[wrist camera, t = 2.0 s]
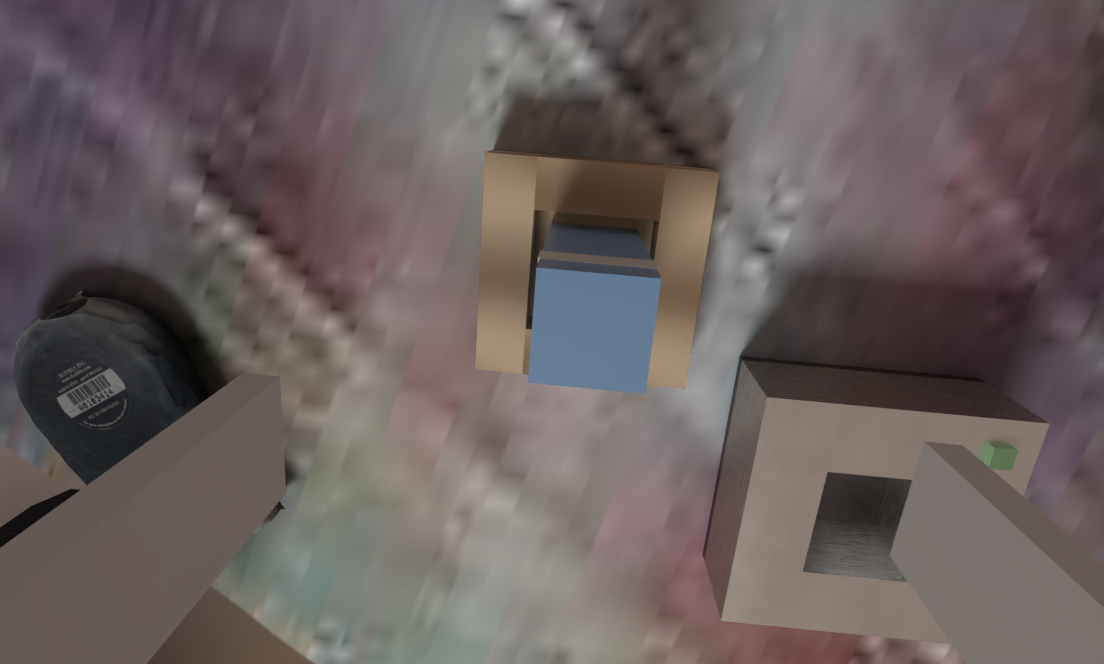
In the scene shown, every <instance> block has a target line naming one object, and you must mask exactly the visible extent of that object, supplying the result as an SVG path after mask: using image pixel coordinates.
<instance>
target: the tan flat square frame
mask: <svg viewBox="0 0 1104 664" xmlns="http://www.w3.org/2000/svg"><path fill="white" fill-rule="evenodd" d="M719 174H720V172H718V171H715V170H712V169H709V168H698V167H686V166H675V165H663V164H651V163H640V162H628V161H616V160H605V159H593V158H581V157H570V156H558V155H546V154H535V153H523V152H512V151H500V150H491V151H487V152H485V167H484V189H483V212H482V234H481V256H480V279H479V301H478V323H477V345H476V368H475V369H478V370H488V371H499V372H510V373H521V374H529V361H530V348H531V334H532V321H533V307H534V294H535V280H536V267H537V264H538V256H539V253H540V250H541V251H542V250H543V247H544V244H545V241H546V238H547V235H548V232H549V229H550V226H551V223H552V222H560V223H571V224H582V225H594V226H605V227H616V228H628V229H637V231H638V233H639V235H640V237H641V239H642V241H643V243H644V245H645V247H646V249H647V251H648V253H649V255H650V257H651V259H652V260H654V261H655V262H656V264H657V266H658V273H659V275H660V277H661V286H660V293H659V300H658V307H657V314H656V322H655V329H654V336H653V343H652V350H651V358H650V365H649V372H648V379H647V385H649V386H660V387H670V388H681V389H685V386H686V380H687V374H688V367H689V361H690V355H691V349H692V343H693V336H694V330H695V324H696V318H697V311H698V305H699V299H700V293H701V287H702V280H703V274H704V268H705V262H706V255H707V249H708V243H709V237H710V230H711V224H712V218H713V212H714V206H715V199H716V193H717V187H718V181H719Z"/></svg>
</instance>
